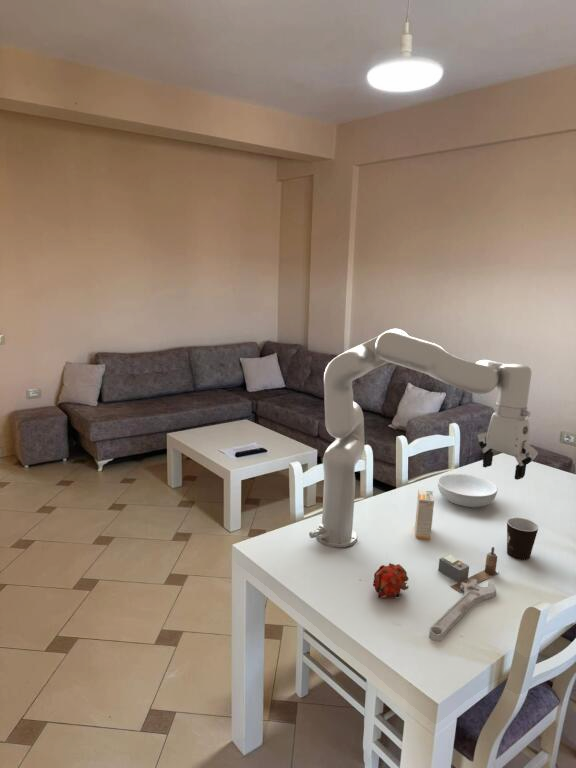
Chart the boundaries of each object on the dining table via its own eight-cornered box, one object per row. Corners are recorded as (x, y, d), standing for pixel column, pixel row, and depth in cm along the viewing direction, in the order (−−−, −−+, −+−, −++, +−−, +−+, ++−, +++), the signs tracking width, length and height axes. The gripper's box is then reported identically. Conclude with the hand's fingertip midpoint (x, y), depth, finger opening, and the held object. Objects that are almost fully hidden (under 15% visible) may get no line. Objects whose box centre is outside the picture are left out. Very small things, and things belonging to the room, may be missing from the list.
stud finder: (458, 583, 147) (460, 568, 146) (438, 571, 152) (439, 556, 151) (467, 579, 149) (469, 564, 148) (447, 567, 155) (448, 552, 154)
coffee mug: (531, 565, 157) (536, 534, 154) (500, 556, 161) (504, 525, 159) (537, 548, 166) (541, 518, 164) (507, 540, 171) (511, 511, 168)
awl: (491, 576, 150) (494, 551, 149) (482, 571, 152) (485, 547, 151) (497, 572, 152) (500, 548, 150) (488, 568, 154) (491, 544, 152)
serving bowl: (500, 498, 201) (503, 481, 200) (487, 520, 184) (490, 501, 183) (445, 485, 212) (447, 468, 211) (428, 504, 195) (430, 486, 193)
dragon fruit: (404, 589, 146) (380, 615, 138) (381, 564, 149) (357, 588, 140) (421, 575, 141) (397, 602, 132) (398, 549, 143) (373, 574, 135)
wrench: (417, 624, 126) (470, 572, 148) (416, 631, 127) (469, 578, 149) (449, 641, 121) (499, 585, 143) (448, 648, 122) (498, 591, 144)
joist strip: (459, 592, 143) (459, 591, 143) (450, 586, 145) (450, 586, 145) (498, 573, 152) (498, 572, 152) (489, 568, 155) (489, 567, 154)
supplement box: (430, 539, 169) (434, 501, 166) (415, 537, 170) (418, 499, 167) (429, 527, 177) (433, 490, 174) (414, 525, 178) (418, 488, 175)
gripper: (549, 417, 137) (540, 480, 141) (490, 401, 151) (483, 459, 154) (533, 421, 133) (524, 486, 136) (473, 405, 146) (467, 464, 150)
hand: (502, 472), depth 145 cm, fingers open, 9 cm apart
